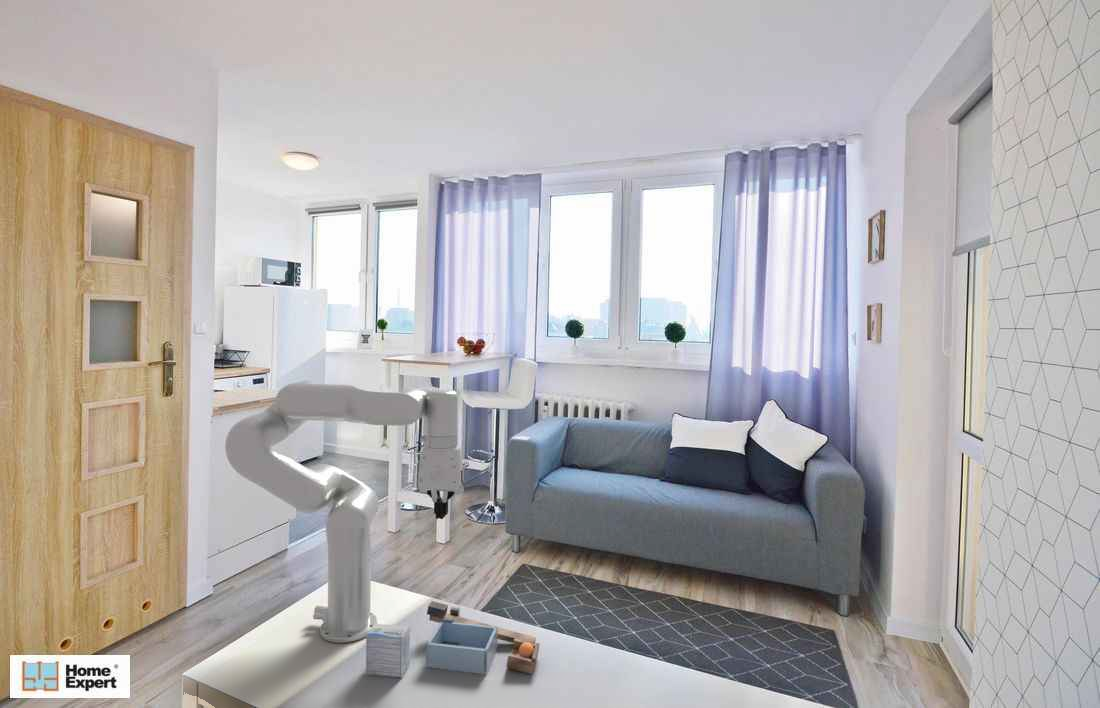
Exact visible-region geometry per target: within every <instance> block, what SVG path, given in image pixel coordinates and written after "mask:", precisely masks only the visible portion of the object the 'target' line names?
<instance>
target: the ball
mask: <svg viewBox="0 0 1100 708" xmlns="http://www.w3.org/2000/svg"><path fill="white" fill-rule="evenodd" d="M533 652H534V648H533V646H532V644H530V643H528V642H525V643H523V644H522V645H521V646H520V648H519V654H520V656H521V657H524V658H528V659H530V658H531V657H532V656H533Z"/></svg>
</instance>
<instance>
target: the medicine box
mask: <svg viewBox="0 0 1100 708" xmlns="http://www.w3.org/2000/svg"><path fill="white" fill-rule="evenodd" d="M410 628H411V627H410V626H408V625H407V626H406V625H397V624H396V625H394V624H384V623H383V624H382V623H381V624H380V623H377V624H375V625H374V626H373V627H372V629H371V630H370V631H369V632H368V634H367V635H366V636H365V639H366V640H365V644H366V645H365V649H366V650H365V675H366V676H367V675H368V676H379V677H388V678H389V677H391V678H401V679H403V677H404V675H405V673H406V672H407V671H408V668H409V666H410V663H411V662H410V661H411V660H410V657H411V655H410V653H411V652H410V648H411V647H410V646H411V645H410V644H411V642H410V641H411V640H410V638H411V636H410V635H411V629H410Z"/></svg>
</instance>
